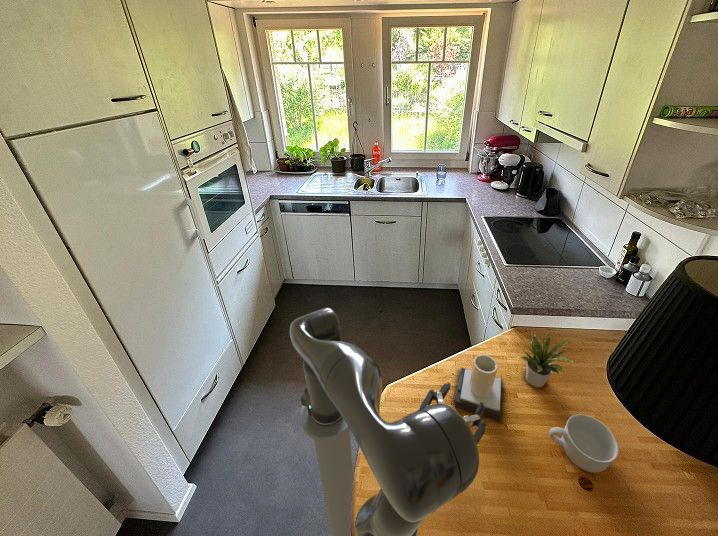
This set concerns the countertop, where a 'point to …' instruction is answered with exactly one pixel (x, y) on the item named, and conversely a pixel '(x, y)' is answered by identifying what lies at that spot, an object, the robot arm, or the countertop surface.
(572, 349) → the countertop surface
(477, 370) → the tumbler
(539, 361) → the house plant
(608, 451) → the teacup
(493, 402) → the scale
